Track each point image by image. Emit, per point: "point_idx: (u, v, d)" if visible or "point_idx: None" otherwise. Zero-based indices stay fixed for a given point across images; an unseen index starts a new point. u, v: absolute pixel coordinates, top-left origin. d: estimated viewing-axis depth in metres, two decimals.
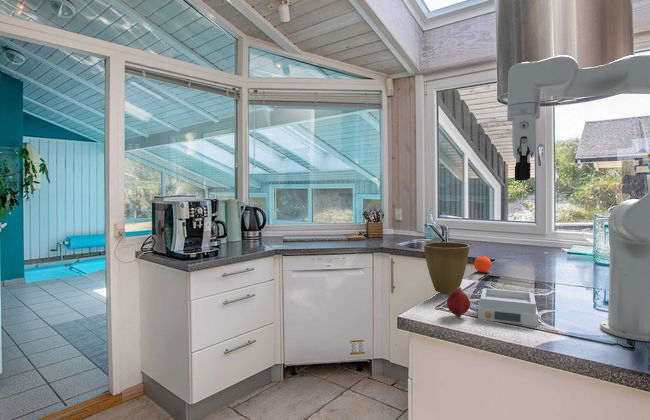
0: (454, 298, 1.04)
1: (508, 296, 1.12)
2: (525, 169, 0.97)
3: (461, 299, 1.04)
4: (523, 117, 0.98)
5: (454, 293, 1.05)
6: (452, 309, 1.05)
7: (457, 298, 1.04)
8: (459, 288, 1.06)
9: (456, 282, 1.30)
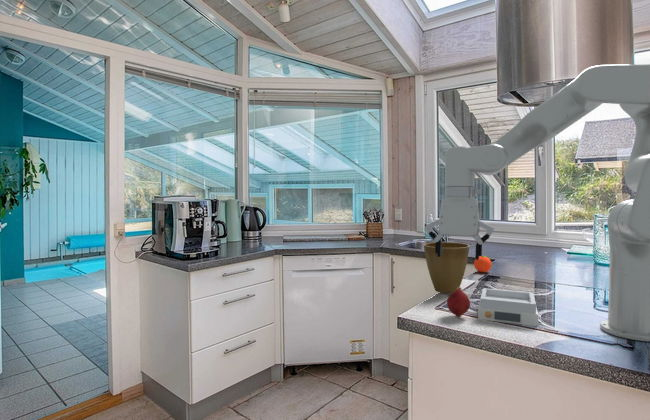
0: (455, 298, 1.04)
1: (508, 296, 1.12)
2: None
3: (461, 299, 1.04)
4: (477, 201, 1.03)
5: (454, 293, 1.05)
6: (452, 309, 1.05)
7: (457, 298, 1.04)
8: (459, 288, 1.06)
9: (456, 282, 1.30)
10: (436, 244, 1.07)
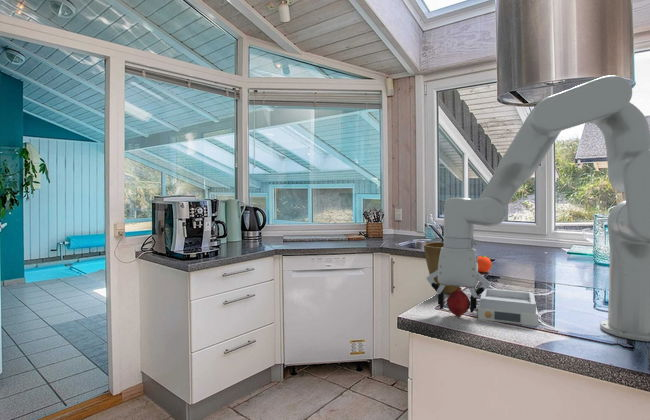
0: (454, 298, 1.04)
1: (508, 296, 1.12)
2: (476, 302, 1.05)
3: (461, 299, 1.04)
4: (475, 251, 1.04)
5: (454, 293, 1.05)
6: (452, 309, 1.05)
7: (457, 298, 1.04)
8: (459, 288, 1.06)
9: None
10: (438, 295, 1.07)
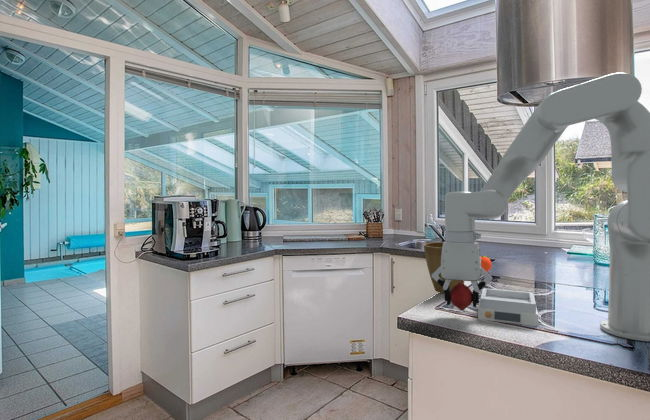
0: (457, 292, 1.04)
1: (508, 296, 1.12)
2: (478, 297, 1.04)
3: (464, 292, 1.03)
4: (478, 245, 1.03)
5: (457, 287, 1.05)
6: (455, 303, 1.04)
7: (460, 291, 1.04)
8: (462, 281, 1.05)
9: (456, 282, 1.30)
10: (445, 292, 1.07)
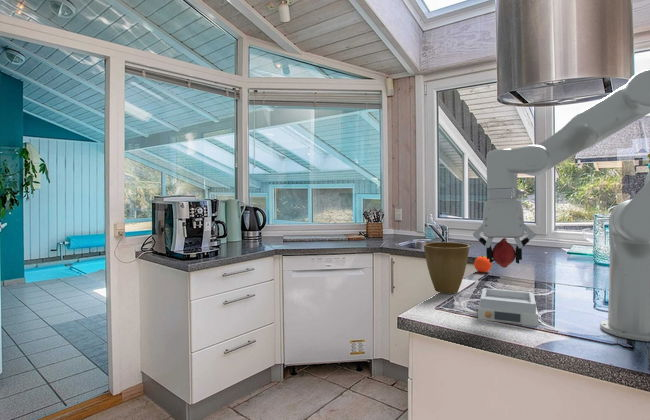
0: (501, 249, 1.05)
1: (508, 296, 1.12)
2: None
3: (507, 248, 1.04)
4: None
5: (499, 244, 1.06)
6: (498, 259, 1.05)
7: (503, 248, 1.04)
8: (504, 238, 1.06)
9: (456, 282, 1.30)
10: (487, 250, 1.07)
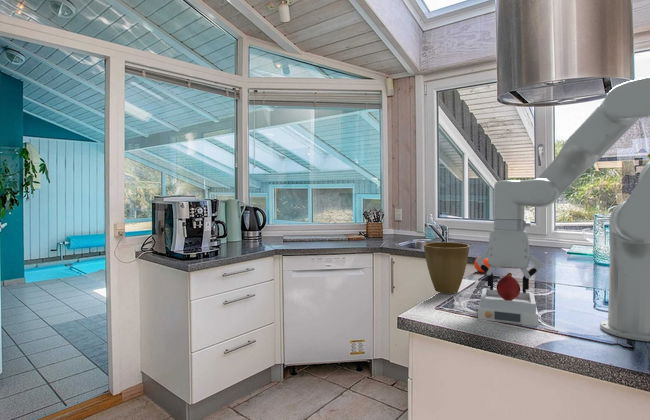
0: (506, 284, 1.05)
1: None
2: None
3: (512, 284, 1.05)
4: None
5: (505, 278, 1.06)
6: (503, 294, 1.06)
7: (508, 283, 1.05)
8: (510, 273, 1.07)
9: (456, 282, 1.30)
10: (488, 277, 1.08)
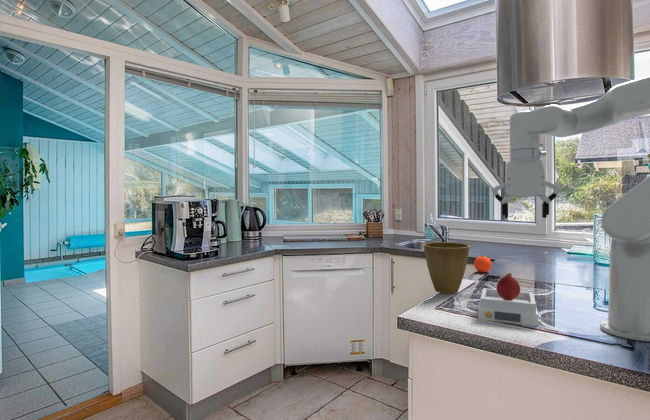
0: (505, 284, 1.05)
1: None
2: None
3: (512, 284, 1.05)
4: (542, 162, 1.09)
5: (504, 278, 1.06)
6: (503, 294, 1.06)
7: (508, 283, 1.05)
8: (509, 273, 1.07)
9: (456, 282, 1.30)
10: (503, 206, 1.12)
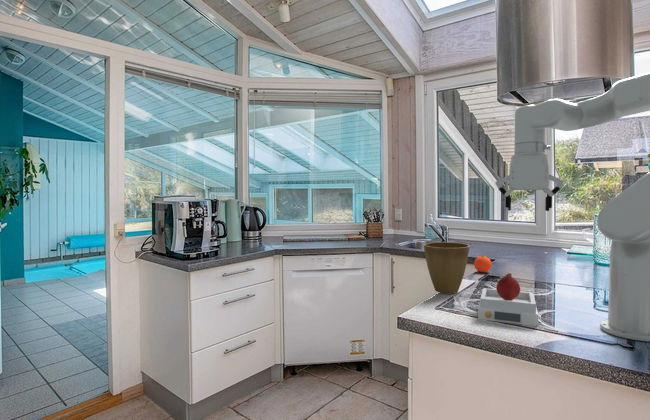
0: (505, 284, 1.05)
1: None
2: None
3: (512, 284, 1.05)
4: (546, 156, 1.10)
5: (504, 278, 1.07)
6: (503, 294, 1.06)
7: (508, 283, 1.05)
8: (509, 273, 1.07)
9: (456, 282, 1.30)
10: (506, 199, 1.14)
